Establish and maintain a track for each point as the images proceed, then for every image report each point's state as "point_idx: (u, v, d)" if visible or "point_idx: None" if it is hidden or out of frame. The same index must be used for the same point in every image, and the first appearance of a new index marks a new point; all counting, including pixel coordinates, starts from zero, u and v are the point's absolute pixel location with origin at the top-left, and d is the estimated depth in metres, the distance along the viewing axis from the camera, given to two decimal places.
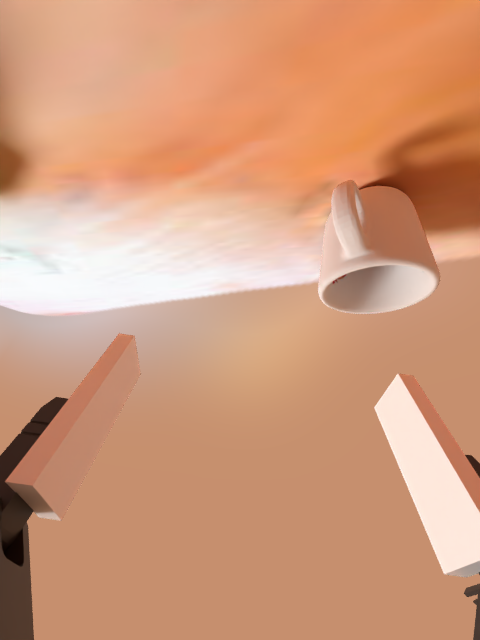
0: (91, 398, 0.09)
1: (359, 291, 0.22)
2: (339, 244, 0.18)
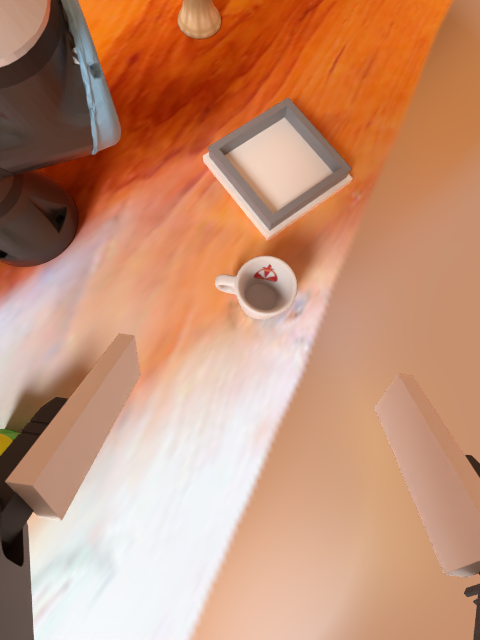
0: (91, 399, 0.09)
1: (281, 303, 0.33)
2: None
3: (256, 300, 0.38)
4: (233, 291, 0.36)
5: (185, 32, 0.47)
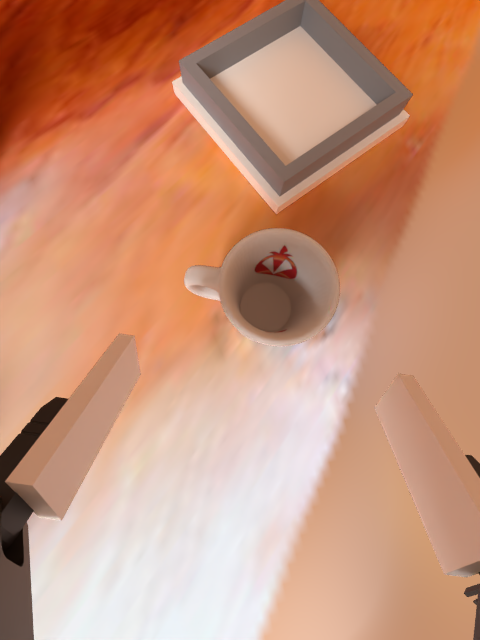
0: (91, 398, 0.09)
1: (306, 320, 0.18)
2: None
3: (259, 311, 0.23)
4: (218, 296, 0.20)
5: None
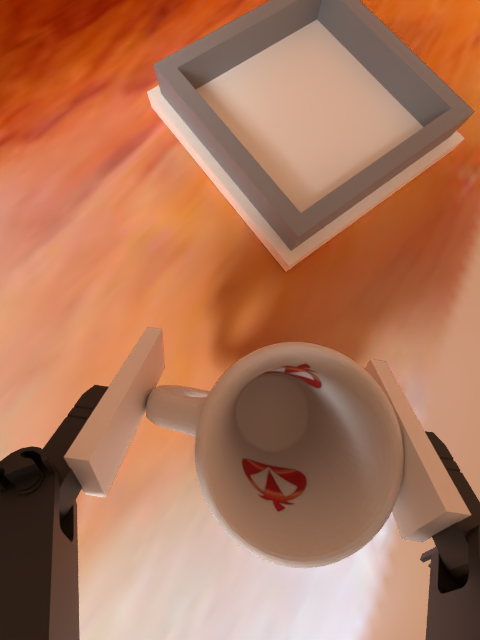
0: (130, 386, 0.10)
1: (342, 485, 0.11)
2: None
3: (263, 418, 0.16)
4: None
5: None
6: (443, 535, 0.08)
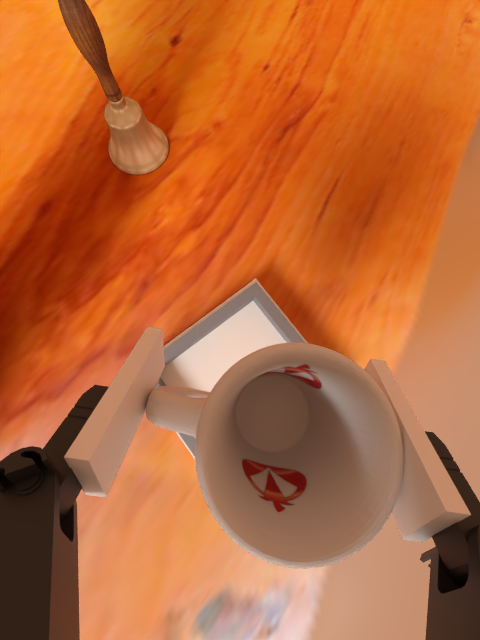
0: (130, 385, 0.10)
1: (342, 486, 0.11)
2: None
3: (263, 418, 0.16)
4: None
5: (118, 167, 0.34)
6: (443, 536, 0.08)
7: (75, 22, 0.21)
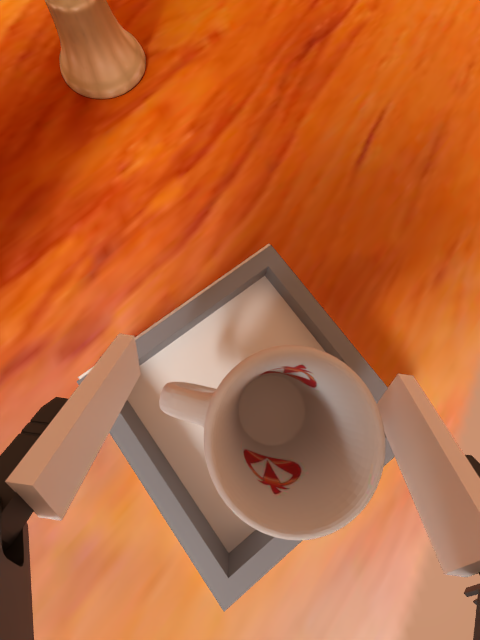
0: (91, 398, 0.09)
1: (332, 473, 0.12)
2: None
3: (263, 414, 0.18)
4: None
5: (72, 87, 0.24)
6: None
7: None
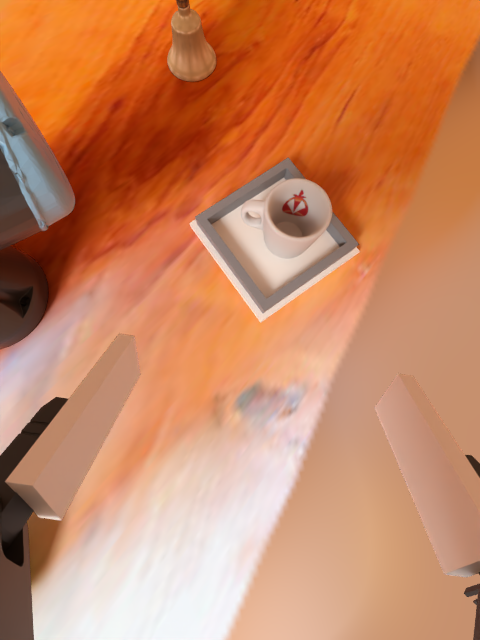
0: (91, 399, 0.09)
1: (312, 233, 0.31)
2: (263, 221, 0.31)
3: None
4: (259, 224, 0.34)
5: (175, 74, 0.42)
6: None
7: None
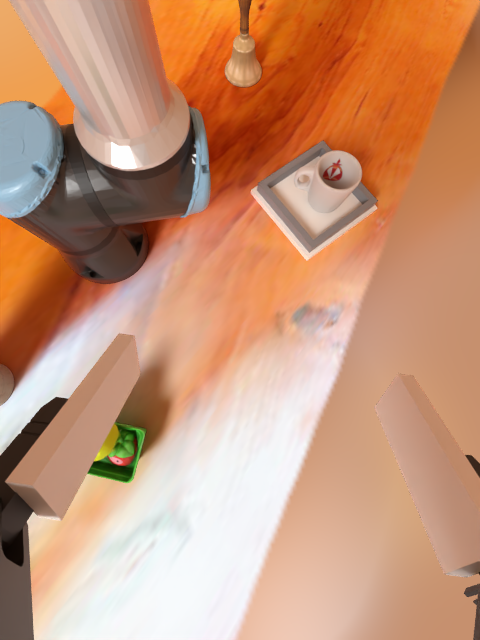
0: (91, 399, 0.09)
1: None
2: (312, 182, 0.44)
3: None
4: (306, 186, 0.46)
5: (231, 82, 0.55)
6: None
7: None
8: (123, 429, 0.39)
